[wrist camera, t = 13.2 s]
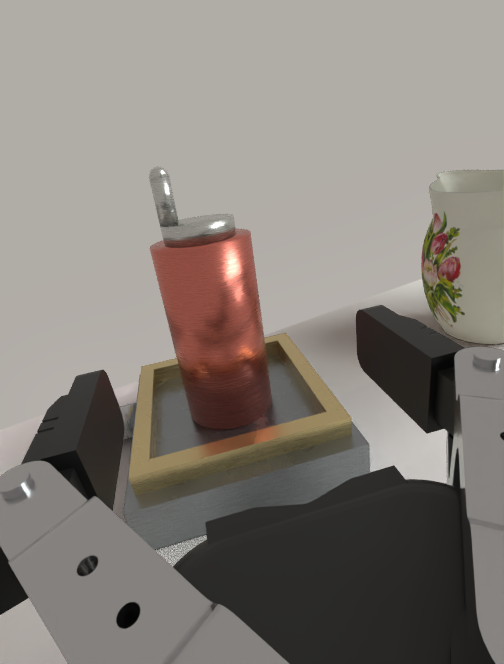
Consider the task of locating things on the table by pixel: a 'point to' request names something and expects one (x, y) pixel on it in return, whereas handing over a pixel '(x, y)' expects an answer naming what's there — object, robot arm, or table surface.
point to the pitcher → (466, 255)
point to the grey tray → (234, 450)
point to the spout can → (212, 312)
